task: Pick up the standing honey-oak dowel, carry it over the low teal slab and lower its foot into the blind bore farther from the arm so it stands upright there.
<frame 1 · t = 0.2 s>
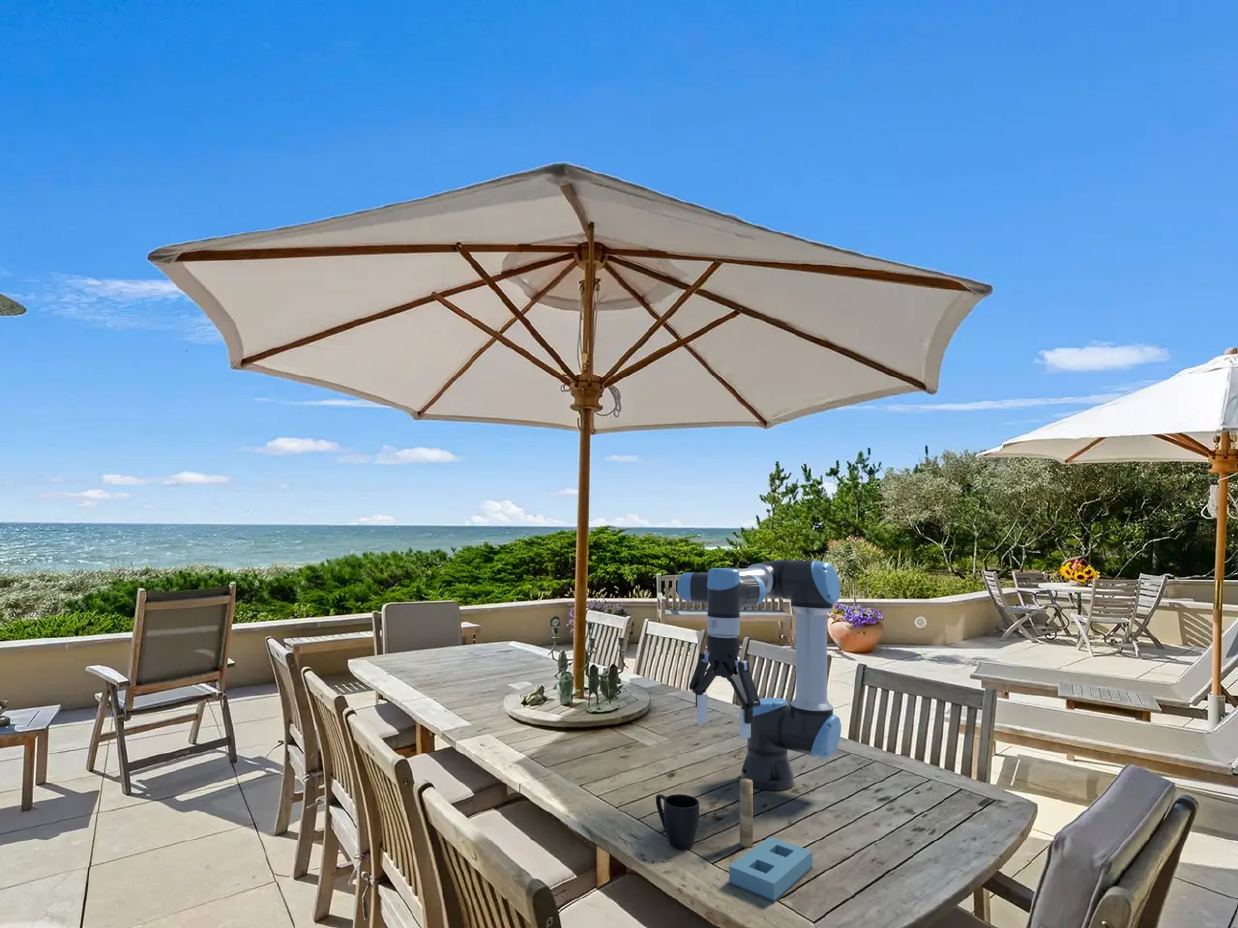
hand: (722, 730, 146), 27 cm above the table, fingers open, 13 cm apart
dowel: (746, 844, 148), on the table
bore slab: (771, 875, 134), on the table
mug: (675, 842, 148), on the table
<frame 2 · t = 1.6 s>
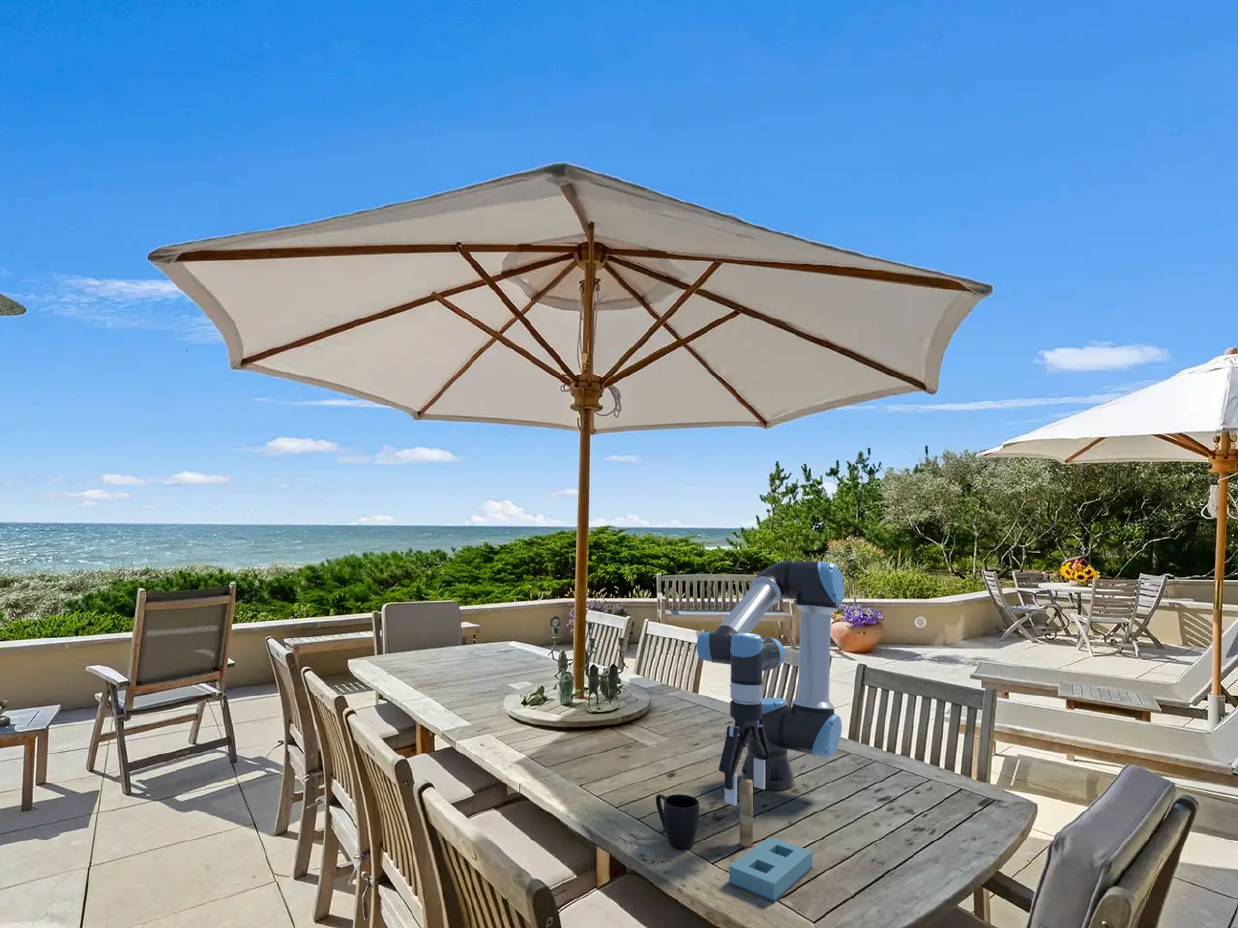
hand: (745, 795, 149), 11 cm above the table, fingers open, 13 cm apart
nothing on the table moved.
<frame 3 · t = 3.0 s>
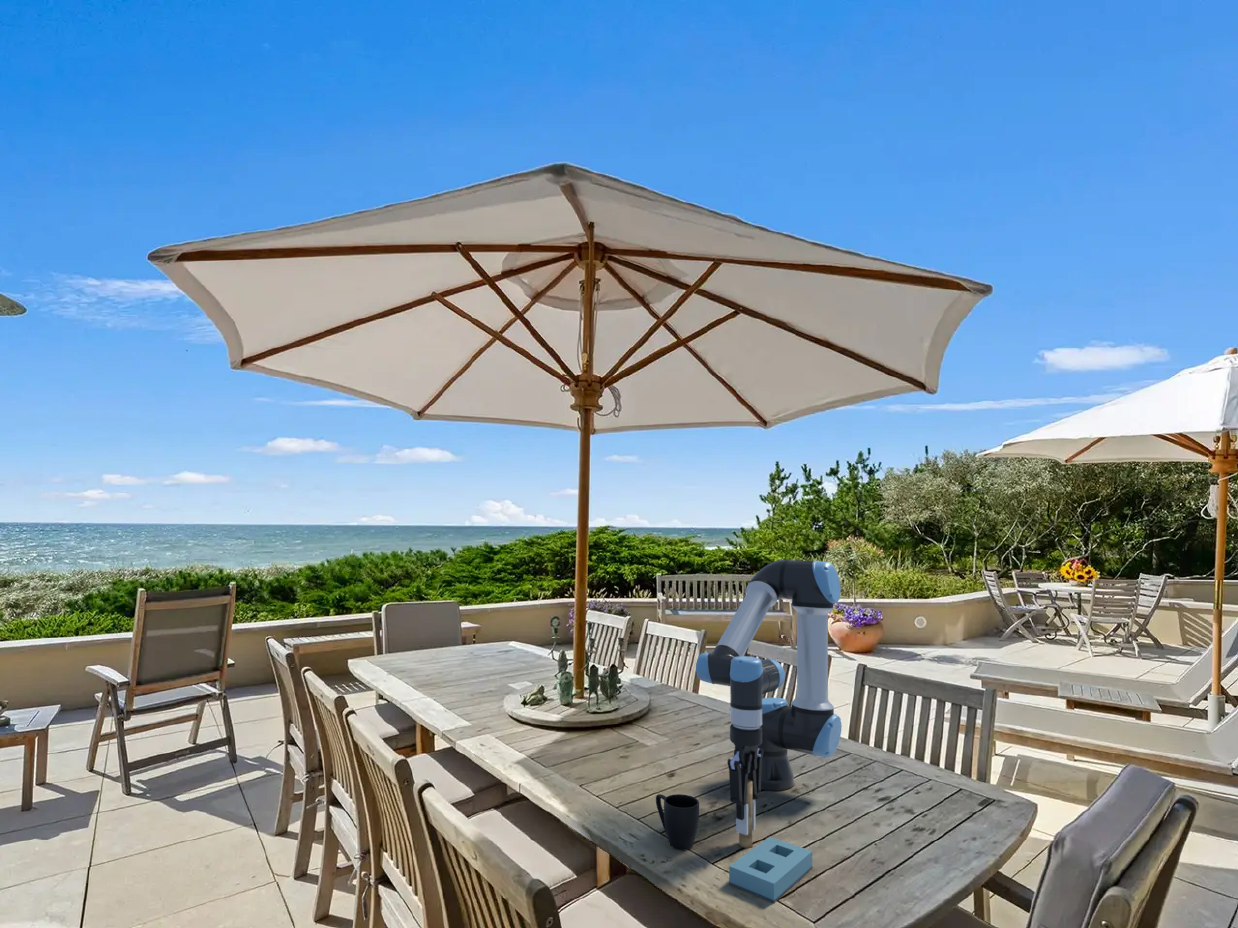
hand: (745, 830, 148), 3 cm above the table, fingers closed on dowel, 3 cm apart
dowel: (745, 844, 148), on the table, touching gripper
everything else where it was.
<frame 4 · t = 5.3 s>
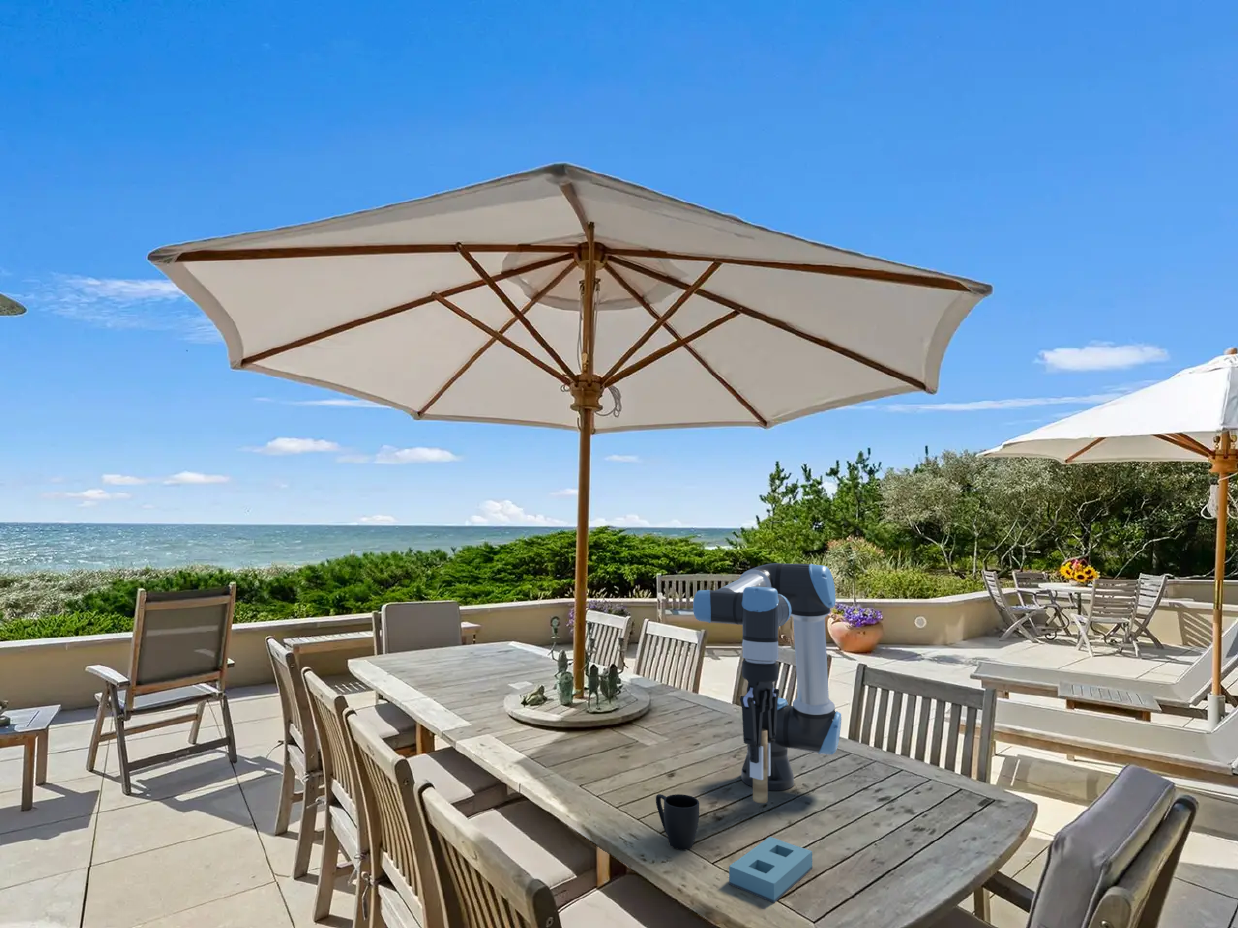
hand: (760, 775, 133), 21 cm above the table, fingers closed on dowel, 2 cm apart
dowel: (760, 800, 133), point 16 cm above the table, touching gripper
everything else where it was.
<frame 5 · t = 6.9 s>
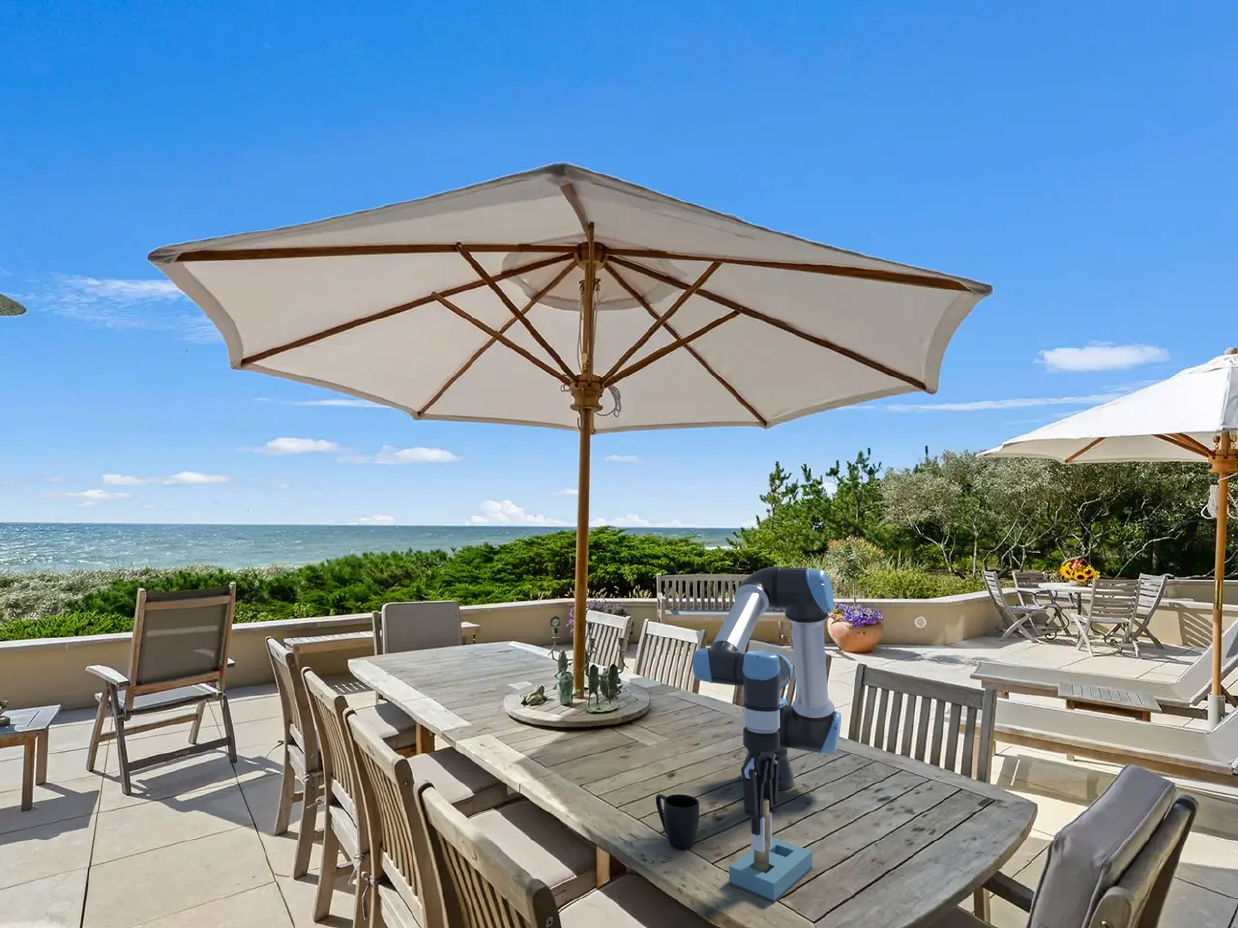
hand: (761, 846, 131), 7 cm above the table, fingers closed on dowel, 2 cm apart
dowel: (761, 872, 131), point 2 cm above the table, touching gripper
everything else where it was.
when the fingers open (5 cm above the table, at t = 7.4 s): dowel stays where it is, resting on bore slab.
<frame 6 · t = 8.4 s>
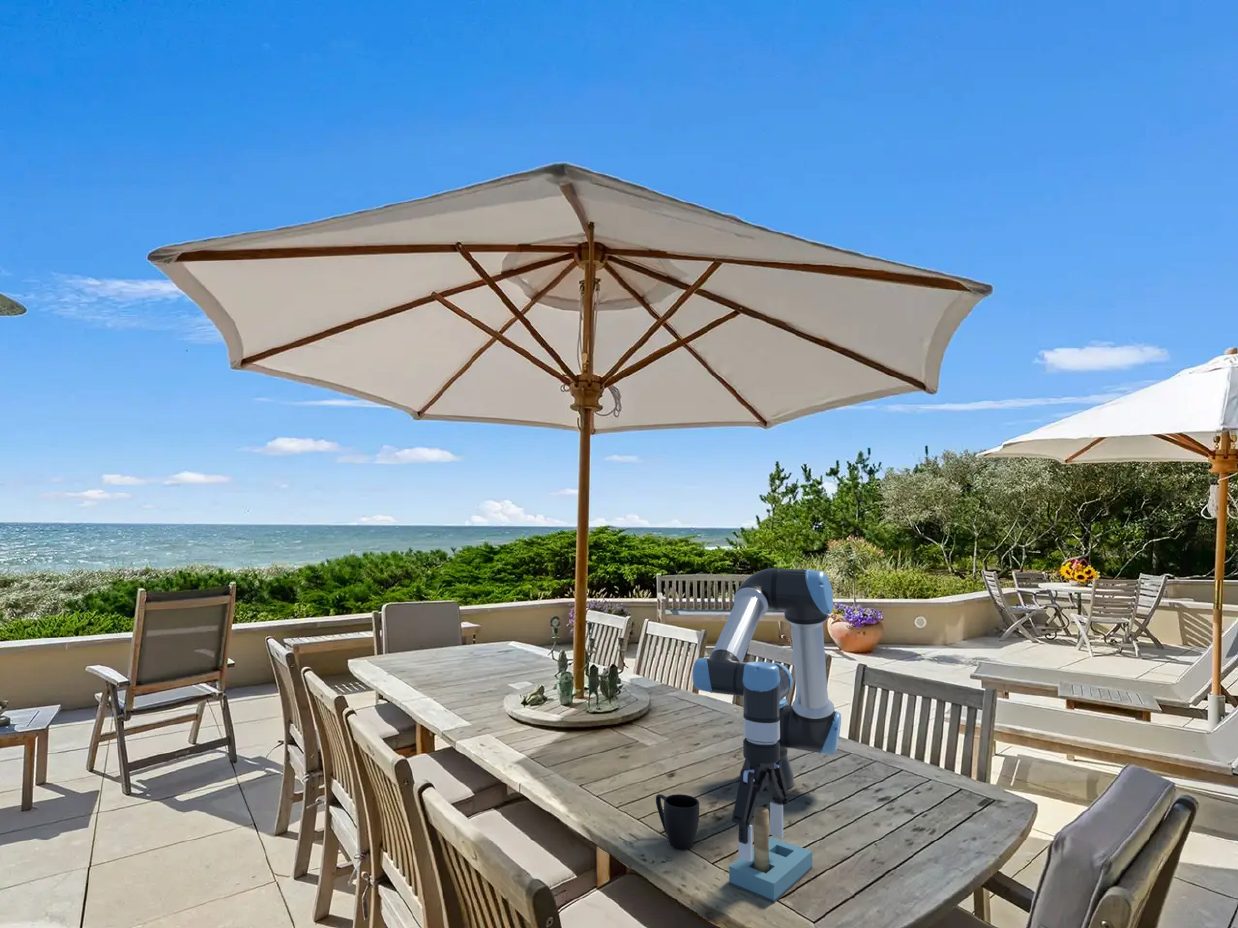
hand: (761, 846, 131), 7 cm above the table, fingers open, 13 cm apart
dowel: (761, 882, 130), resting on bore slab
everything else where it was.
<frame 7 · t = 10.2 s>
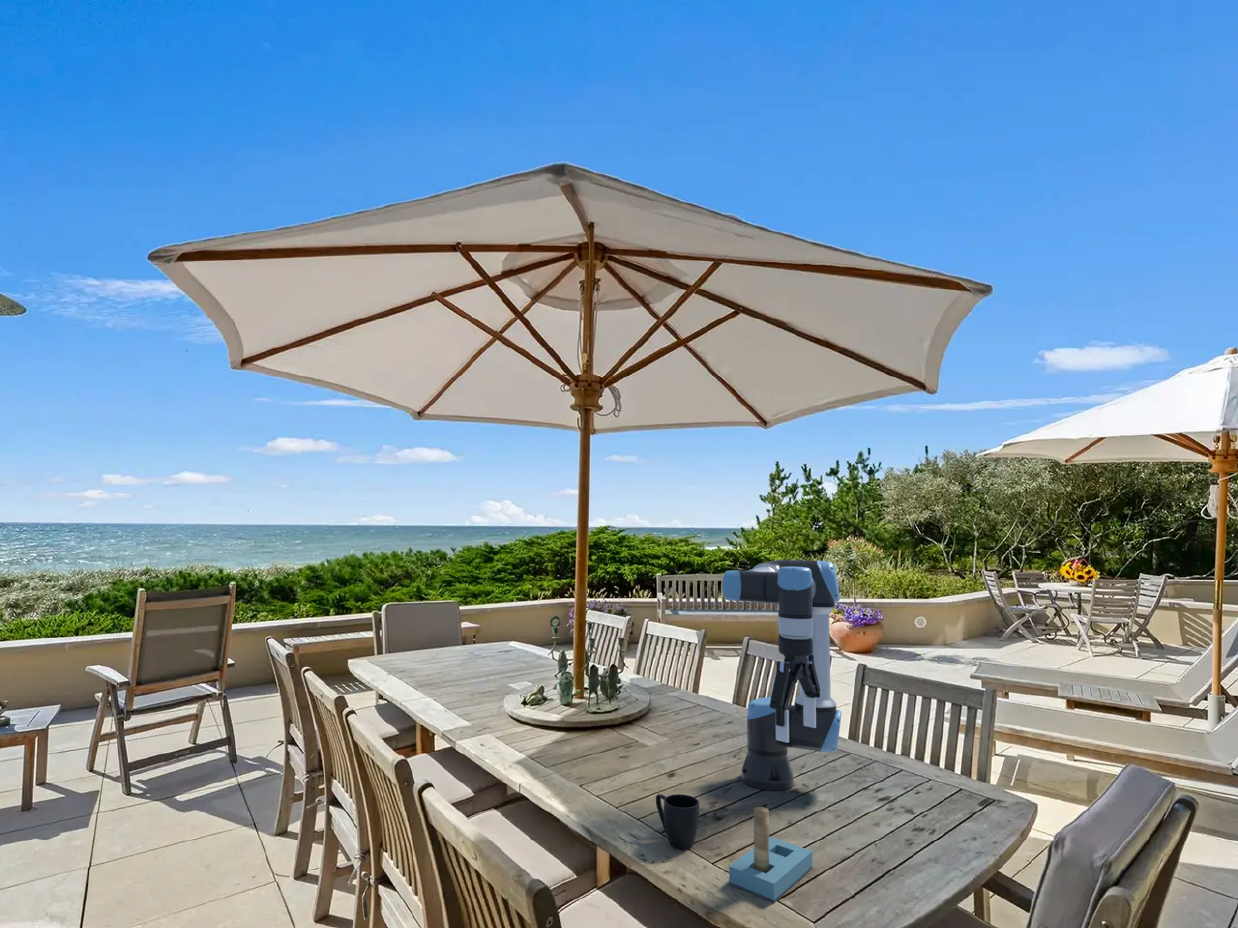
hand: (796, 733, 142), 28 cm above the table, fingers open, 13 cm apart
nothing on the table moved.
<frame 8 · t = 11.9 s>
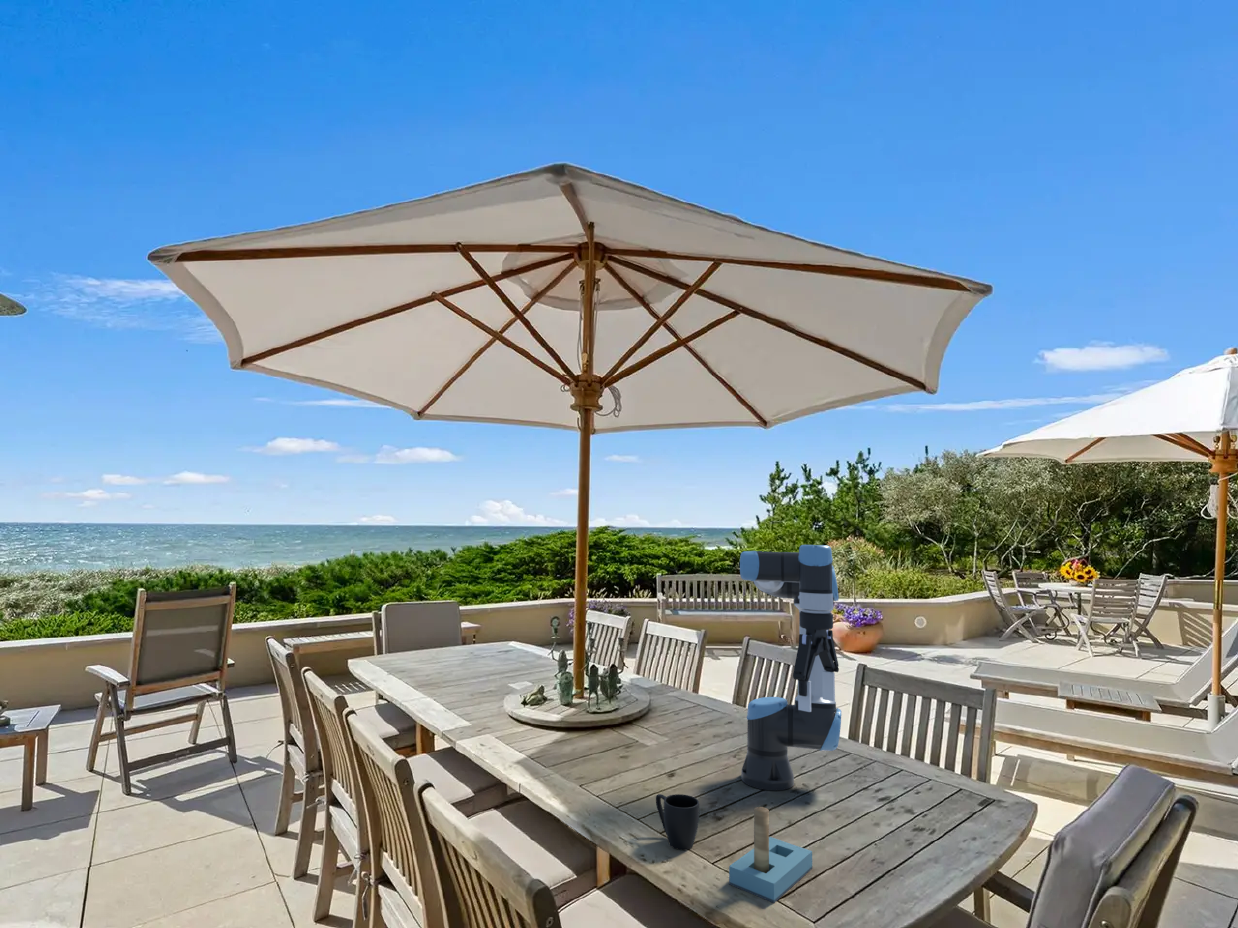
hand: (817, 705, 147), 33 cm above the table, fingers open, 13 cm apart
nothing on the table moved.
at the end: dowel 0.1 cm from the target spot on the bore slab, point 0.5 cm above the bore slab's base; dowel tilted 0°; the gripper is holding nothing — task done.
